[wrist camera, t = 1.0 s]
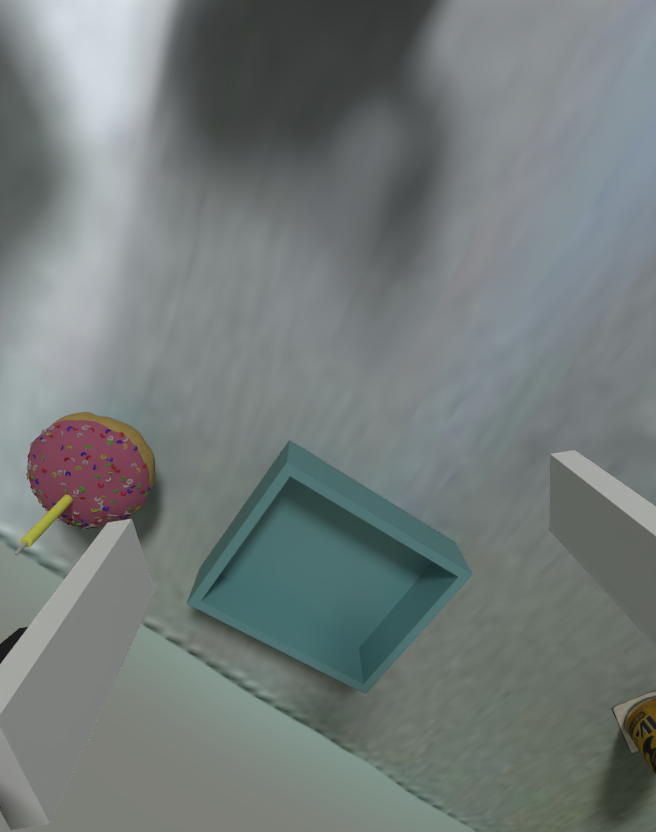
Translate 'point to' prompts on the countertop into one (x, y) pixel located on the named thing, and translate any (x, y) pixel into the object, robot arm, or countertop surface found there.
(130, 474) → the cupcake
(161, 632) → the countertop surface
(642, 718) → the condiment
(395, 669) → the countertop surface
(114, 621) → the robot arm
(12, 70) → the countertop surface
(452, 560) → the tub
